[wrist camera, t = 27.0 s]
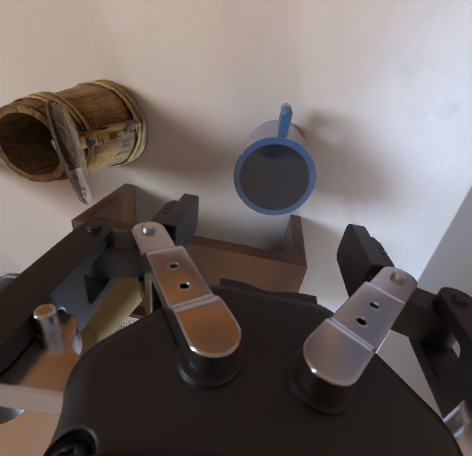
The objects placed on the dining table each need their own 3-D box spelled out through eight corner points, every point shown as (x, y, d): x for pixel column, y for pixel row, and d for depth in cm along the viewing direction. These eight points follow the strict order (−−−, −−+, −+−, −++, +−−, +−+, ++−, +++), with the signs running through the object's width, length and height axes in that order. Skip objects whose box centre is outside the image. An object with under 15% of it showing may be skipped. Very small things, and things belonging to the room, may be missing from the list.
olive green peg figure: (111, 236, 25) (8, 333, 16) (165, 272, 26) (100, 382, 17) (89, 273, 28) (-10, 374, 18) (138, 304, 29) (70, 414, 20)
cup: (242, 174, 31) (229, 208, 23) (254, 95, 27) (243, 103, 19) (297, 184, 30) (303, 222, 23) (318, 105, 26) (334, 118, 18)
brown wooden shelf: (130, 248, 38) (79, 306, 29) (125, 183, 34) (61, 226, 24) (282, 279, 37) (282, 350, 28) (300, 216, 32) (308, 275, 23)
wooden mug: (191, 162, 31) (102, 247, 15) (86, 165, 33) (-86, 243, 18) (178, 73, 27) (35, 66, 11) (58, 83, 29) (-203, 90, 13)
